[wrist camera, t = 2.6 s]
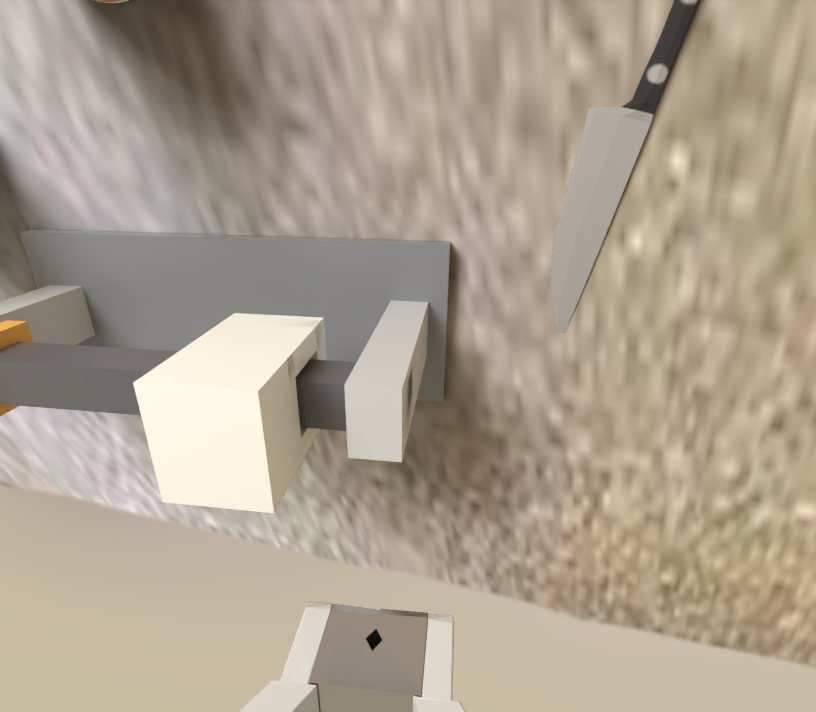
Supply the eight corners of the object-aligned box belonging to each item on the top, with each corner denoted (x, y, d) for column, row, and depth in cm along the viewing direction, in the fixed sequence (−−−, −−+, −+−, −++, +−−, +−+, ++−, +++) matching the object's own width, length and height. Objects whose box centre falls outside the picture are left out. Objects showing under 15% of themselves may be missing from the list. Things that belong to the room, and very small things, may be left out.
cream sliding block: (323, 317, 20) (257, 391, 14) (330, 411, 22) (274, 512, 16) (234, 313, 21) (133, 382, 15) (247, 405, 23) (162, 502, 16)
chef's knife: (503, 338, 27) (555, 353, 27) (503, 345, 26) (557, 361, 26) (650, -87, 19) (725, -72, 19) (657, -101, 18) (738, -85, 18)
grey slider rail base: (450, 241, 25) (434, 304, 15) (444, 395, 28) (427, 529, 18) (33, 229, 28) (-218, 274, 18) (75, 370, 31) (-113, 475, 21)
